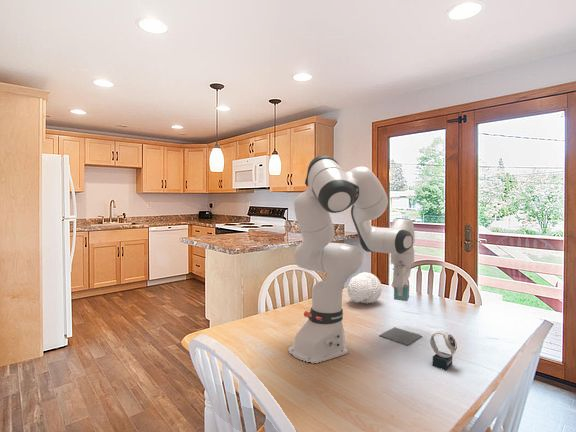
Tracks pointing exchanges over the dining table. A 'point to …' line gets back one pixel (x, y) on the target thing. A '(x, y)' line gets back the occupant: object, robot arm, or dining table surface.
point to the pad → (401, 336)
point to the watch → (443, 358)
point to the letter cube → (405, 293)
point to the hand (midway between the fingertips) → (401, 293)
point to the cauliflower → (364, 288)
